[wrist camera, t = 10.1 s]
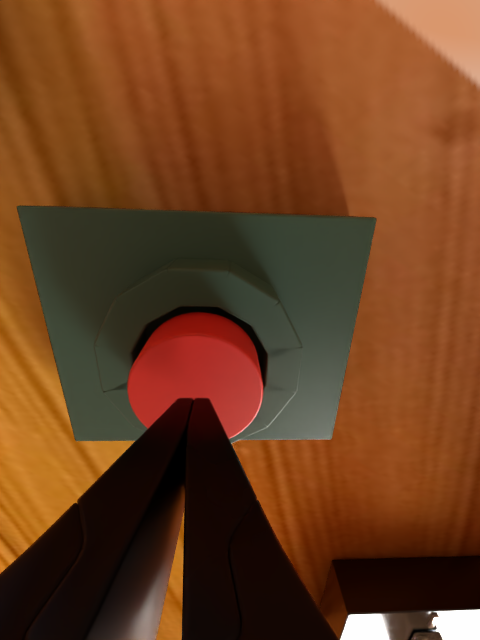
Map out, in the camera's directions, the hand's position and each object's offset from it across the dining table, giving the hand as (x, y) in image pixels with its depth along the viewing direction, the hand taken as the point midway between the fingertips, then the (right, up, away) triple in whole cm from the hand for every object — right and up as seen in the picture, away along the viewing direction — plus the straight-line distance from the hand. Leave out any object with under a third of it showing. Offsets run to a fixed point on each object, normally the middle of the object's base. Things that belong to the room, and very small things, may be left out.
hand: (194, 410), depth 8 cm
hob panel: (+14, -20, +15) cm, 29 cm away
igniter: (0, +2, +6) cm, 6 cm away
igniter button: (0, +1, +2) cm, 2 cm away
